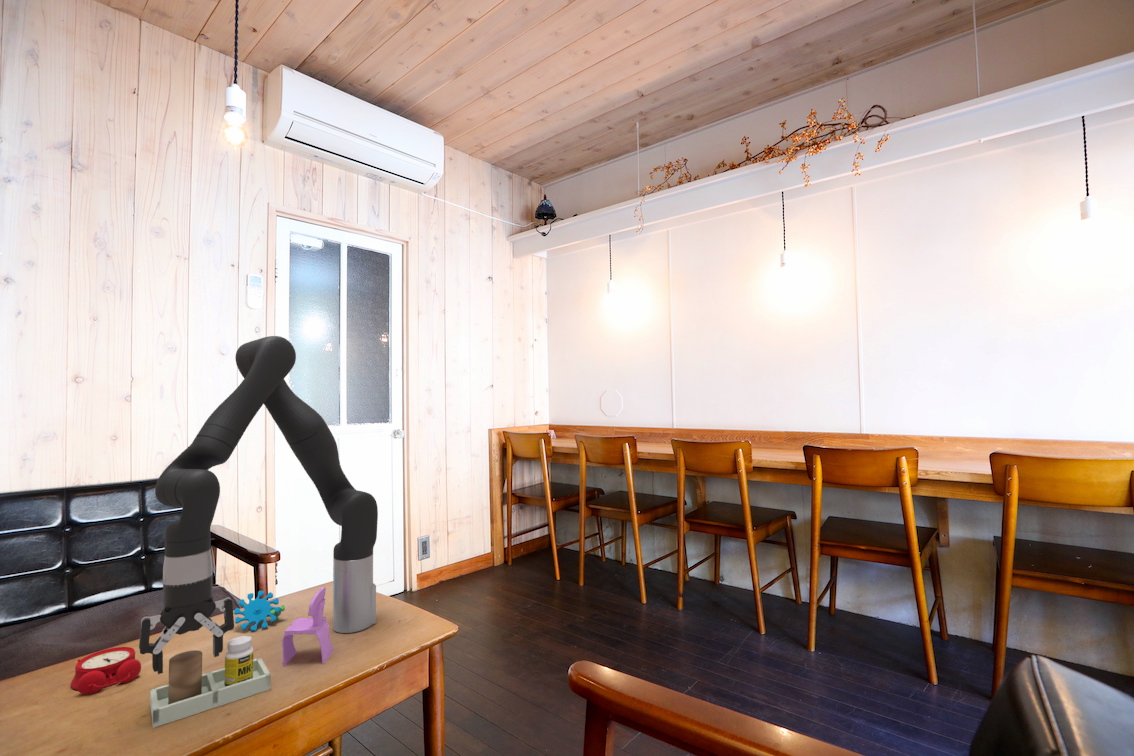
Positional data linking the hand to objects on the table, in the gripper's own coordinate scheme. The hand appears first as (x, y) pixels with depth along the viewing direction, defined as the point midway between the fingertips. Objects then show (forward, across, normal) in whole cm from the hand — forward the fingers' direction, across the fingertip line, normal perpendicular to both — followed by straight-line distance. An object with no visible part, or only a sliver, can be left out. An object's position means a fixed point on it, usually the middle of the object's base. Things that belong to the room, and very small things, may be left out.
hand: (188, 663), depth 98 cm
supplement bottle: (+7, -8, 0) cm, 10 cm away
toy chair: (+8, -22, -3) cm, 23 cm away
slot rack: (+7, -4, +1) cm, 8 cm away
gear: (+8, -18, -29) cm, 35 cm away
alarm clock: (+8, +11, -21) cm, 25 cm away
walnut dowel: (+6, +1, 0) cm, 6 cm away
